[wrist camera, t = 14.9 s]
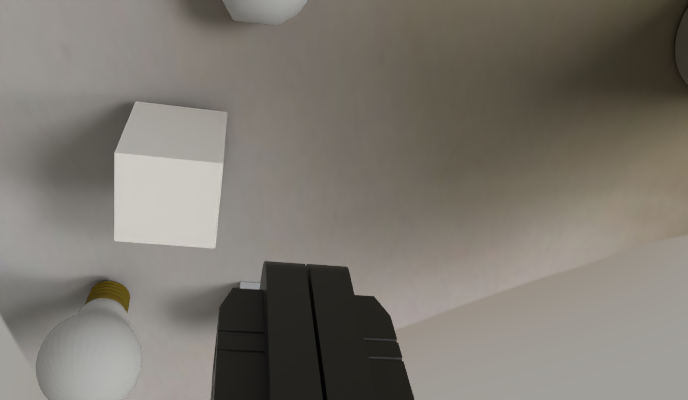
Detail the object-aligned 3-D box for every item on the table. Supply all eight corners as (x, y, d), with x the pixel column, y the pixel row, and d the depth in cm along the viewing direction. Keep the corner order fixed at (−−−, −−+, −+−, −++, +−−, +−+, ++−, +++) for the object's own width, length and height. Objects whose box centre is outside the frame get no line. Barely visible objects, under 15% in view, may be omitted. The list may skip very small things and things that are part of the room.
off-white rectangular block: (227, 112, 37) (223, 163, 31) (220, 188, 39) (215, 248, 34) (135, 101, 36) (114, 152, 30) (134, 180, 38) (114, 241, 33)
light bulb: (173, 296, 45) (155, 408, 36) (106, 333, 45) (73, 449, 37) (119, 239, 42) (85, 346, 33) (48, 279, 42) (-3, 393, 34)
